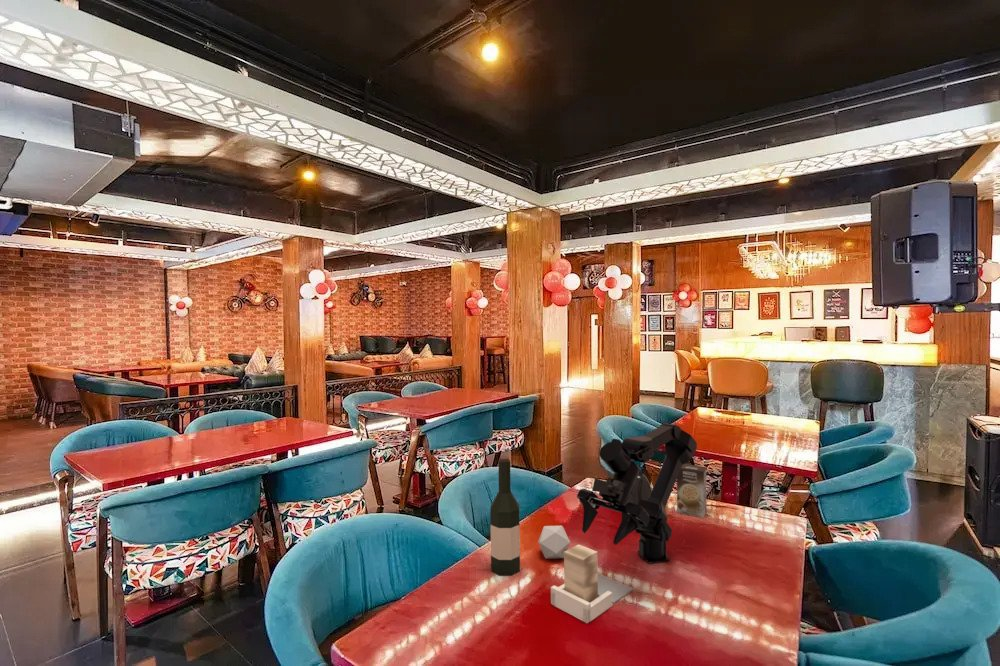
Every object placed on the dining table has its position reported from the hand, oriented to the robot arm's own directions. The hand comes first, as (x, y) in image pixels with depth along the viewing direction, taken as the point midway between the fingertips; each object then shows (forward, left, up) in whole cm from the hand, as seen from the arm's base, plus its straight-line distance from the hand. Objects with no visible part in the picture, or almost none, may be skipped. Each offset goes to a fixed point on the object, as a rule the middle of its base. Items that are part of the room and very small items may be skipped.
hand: (598, 537), depth 117 cm
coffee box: (-52, -40, -13) cm, 67 cm away
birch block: (+7, +5, -13) cm, 15 cm away
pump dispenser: (-32, -40, -13) cm, 53 cm away
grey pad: (-2, -1, -13) cm, 13 cm away
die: (+5, -20, -13) cm, 25 cm away
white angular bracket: (+7, +5, -13) cm, 15 cm away
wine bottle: (+20, -16, -13) cm, 29 cm away
